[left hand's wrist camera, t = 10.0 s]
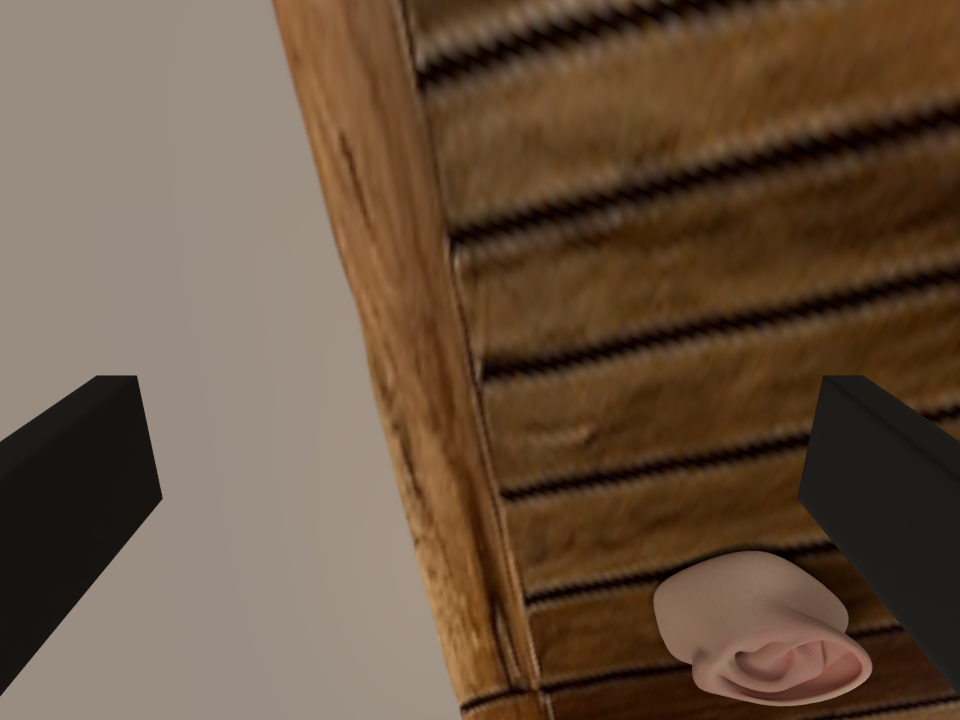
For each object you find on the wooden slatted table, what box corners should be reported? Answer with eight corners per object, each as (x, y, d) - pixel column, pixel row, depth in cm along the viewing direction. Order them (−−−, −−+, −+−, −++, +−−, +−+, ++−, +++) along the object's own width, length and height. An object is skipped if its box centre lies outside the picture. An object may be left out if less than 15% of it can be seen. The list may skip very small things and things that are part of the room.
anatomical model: (635, 651, 41) (787, 551, 38) (623, 607, 45) (760, 513, 42) (752, 758, 45) (899, 674, 42) (731, 708, 48) (865, 628, 46)
